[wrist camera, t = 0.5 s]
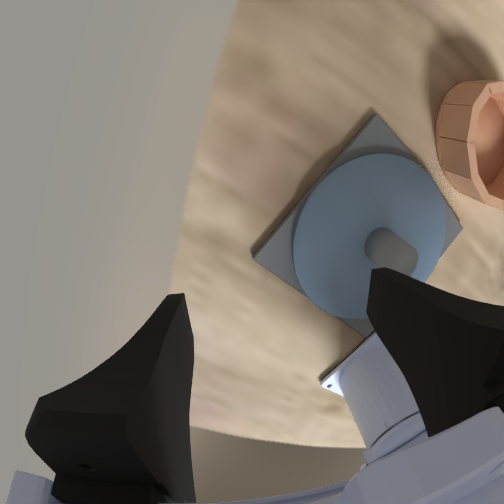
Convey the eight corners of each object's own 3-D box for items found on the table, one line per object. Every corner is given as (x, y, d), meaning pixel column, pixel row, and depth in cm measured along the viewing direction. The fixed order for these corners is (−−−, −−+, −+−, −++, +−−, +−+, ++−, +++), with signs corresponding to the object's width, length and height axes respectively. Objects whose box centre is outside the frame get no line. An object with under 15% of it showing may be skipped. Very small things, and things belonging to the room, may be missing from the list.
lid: (462, 228, 23) (491, 244, 19) (366, 337, 26) (383, 365, 23) (376, 114, 18) (408, 116, 15) (253, 259, 21) (261, 287, 18)
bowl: (516, 143, 21) (546, 151, 17) (469, 216, 23) (498, 232, 20) (470, 59, 17) (503, 57, 14) (413, 134, 20) (447, 141, 16)
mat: (459, 226, 23) (463, 228, 23) (364, 334, 26) (366, 337, 26) (373, 113, 19) (377, 114, 18) (252, 256, 22) (253, 259, 21)
